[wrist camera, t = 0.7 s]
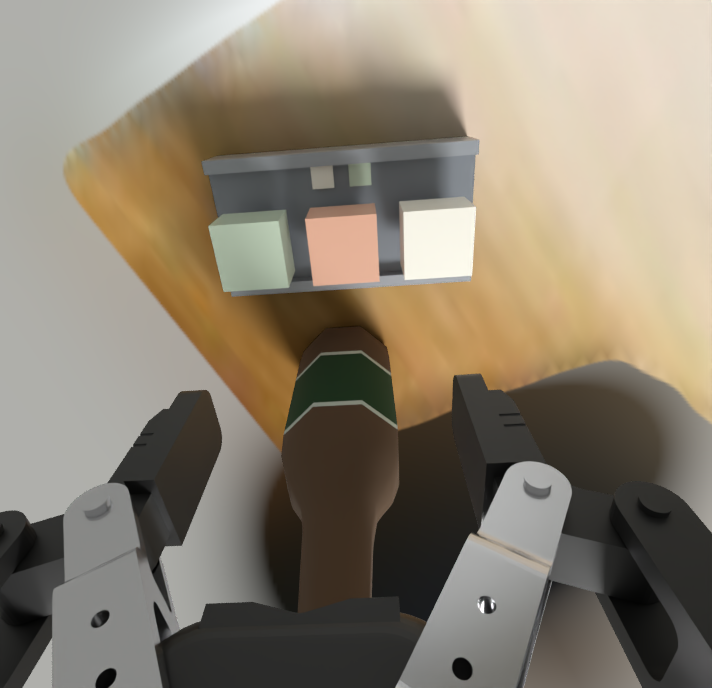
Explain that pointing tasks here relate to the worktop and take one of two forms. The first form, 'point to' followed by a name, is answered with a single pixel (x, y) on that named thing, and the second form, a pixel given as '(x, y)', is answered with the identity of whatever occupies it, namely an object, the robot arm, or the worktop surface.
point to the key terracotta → (343, 244)
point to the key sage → (253, 250)
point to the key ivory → (436, 237)
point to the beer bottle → (340, 461)
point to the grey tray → (344, 193)
